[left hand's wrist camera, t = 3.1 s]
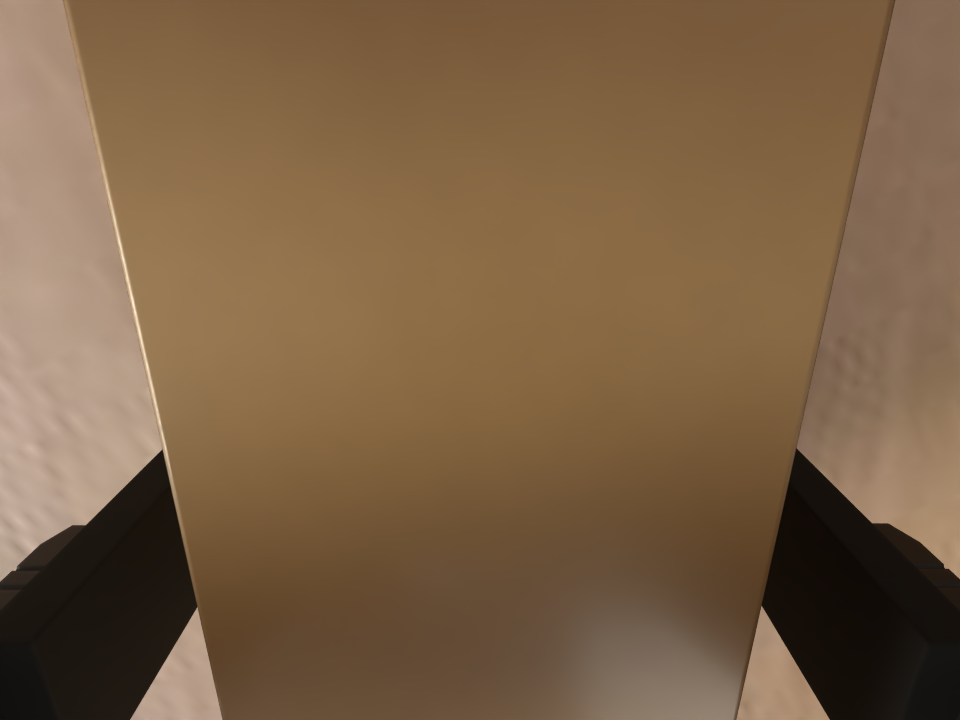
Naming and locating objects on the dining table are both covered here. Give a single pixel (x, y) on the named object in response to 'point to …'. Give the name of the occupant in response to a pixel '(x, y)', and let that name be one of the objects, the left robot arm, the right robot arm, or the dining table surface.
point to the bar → (479, 331)
